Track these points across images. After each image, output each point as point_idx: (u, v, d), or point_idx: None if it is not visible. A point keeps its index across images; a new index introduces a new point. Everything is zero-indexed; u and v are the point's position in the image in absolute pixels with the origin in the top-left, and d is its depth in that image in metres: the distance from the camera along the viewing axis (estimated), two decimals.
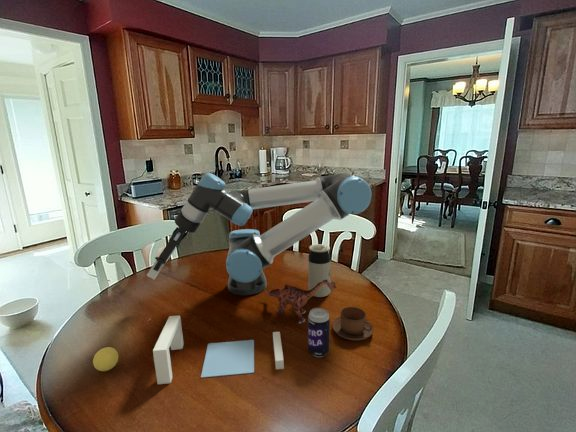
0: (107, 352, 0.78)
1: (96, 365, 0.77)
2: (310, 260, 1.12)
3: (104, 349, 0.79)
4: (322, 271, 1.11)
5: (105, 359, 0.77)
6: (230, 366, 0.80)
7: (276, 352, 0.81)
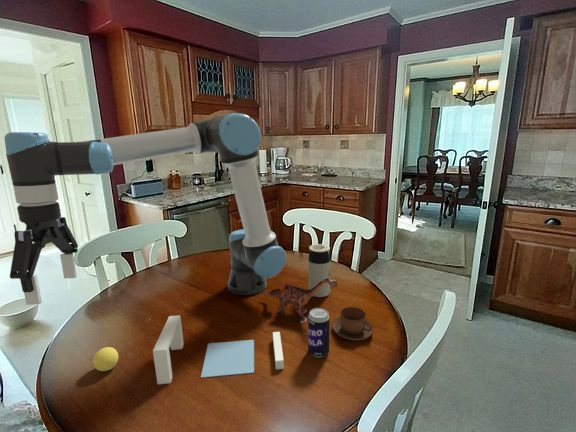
0: (107, 352, 0.78)
1: (96, 365, 0.77)
2: (310, 260, 1.12)
3: (104, 349, 0.79)
4: (322, 271, 1.11)
5: (105, 359, 0.77)
6: (230, 366, 0.80)
7: (276, 352, 0.81)
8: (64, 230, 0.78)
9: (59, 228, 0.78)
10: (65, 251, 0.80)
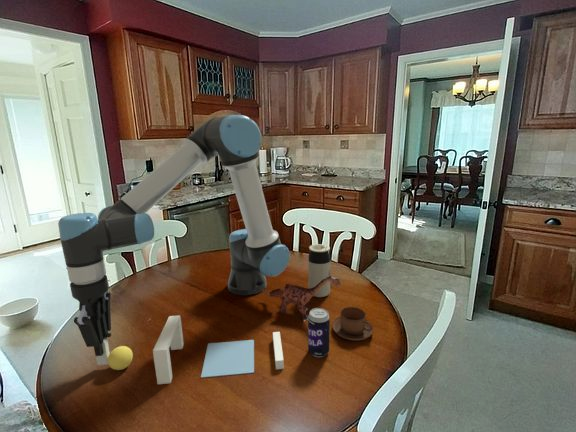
0: (129, 357, 0.79)
1: (113, 361, 0.77)
2: (310, 260, 1.12)
3: (128, 351, 0.80)
4: (322, 271, 1.11)
5: (123, 363, 0.78)
6: (230, 366, 0.80)
7: (276, 352, 0.81)
8: (106, 306, 0.80)
9: None
10: None
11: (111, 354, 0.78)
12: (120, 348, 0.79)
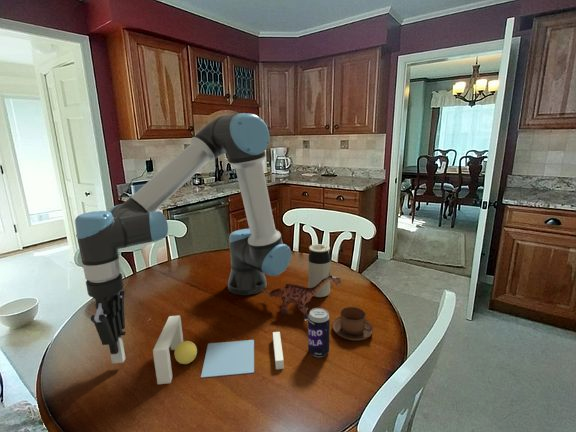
0: (191, 347, 0.80)
1: (179, 357, 0.79)
2: (310, 260, 1.12)
3: (188, 343, 0.81)
4: (322, 271, 1.11)
5: (189, 354, 0.79)
6: (230, 366, 0.80)
7: (276, 352, 0.81)
8: (120, 304, 0.80)
9: None
10: None
11: (175, 352, 0.80)
12: (180, 344, 0.81)
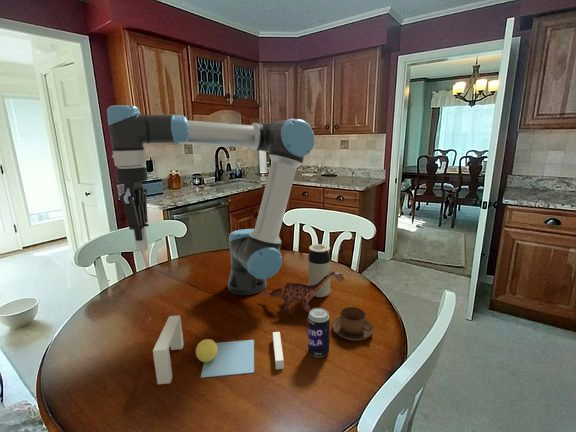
0: None
1: (208, 354, 0.79)
2: (310, 260, 1.12)
3: None
4: (322, 271, 1.11)
5: (207, 361, 0.80)
6: (230, 366, 0.80)
7: (276, 352, 0.81)
8: (143, 199, 0.89)
9: None
10: None
11: (212, 346, 0.80)
12: (217, 348, 0.82)
